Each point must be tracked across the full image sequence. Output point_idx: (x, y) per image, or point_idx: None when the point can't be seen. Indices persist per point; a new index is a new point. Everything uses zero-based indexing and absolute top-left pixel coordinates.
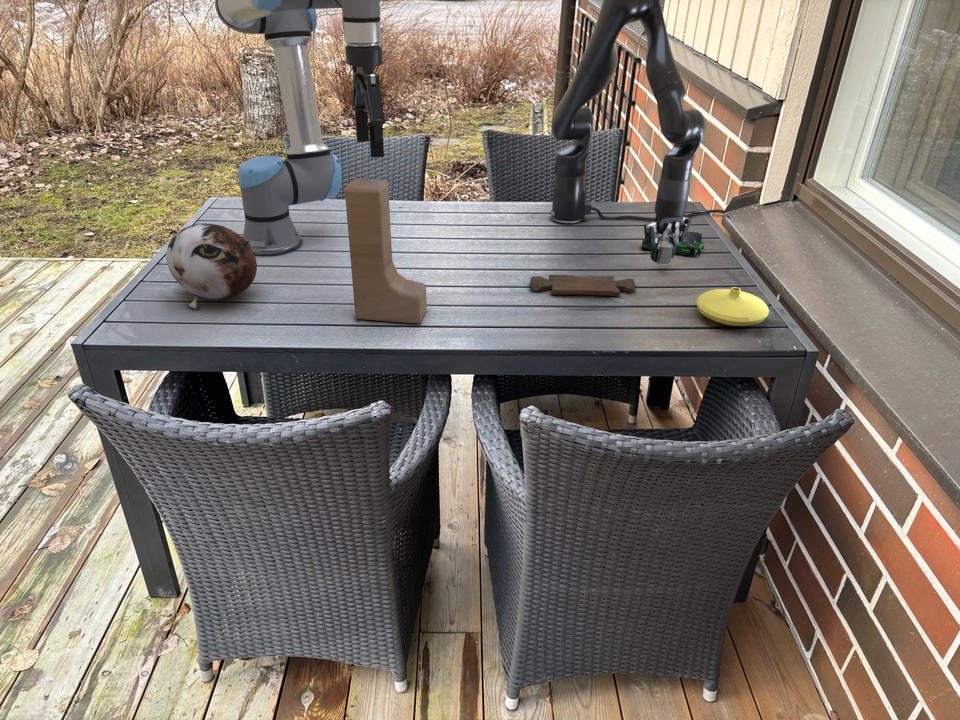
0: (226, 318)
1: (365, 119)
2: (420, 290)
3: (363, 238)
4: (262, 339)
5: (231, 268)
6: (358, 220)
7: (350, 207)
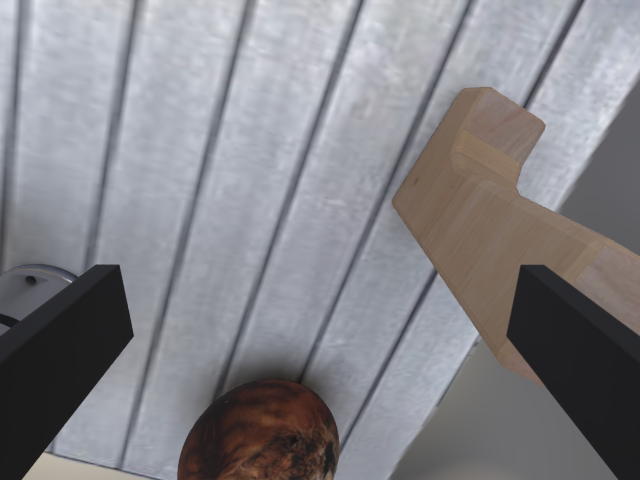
0: (349, 399)
1: (7, 389)
2: (521, 112)
3: None
4: (437, 363)
5: (337, 446)
6: None
7: None
